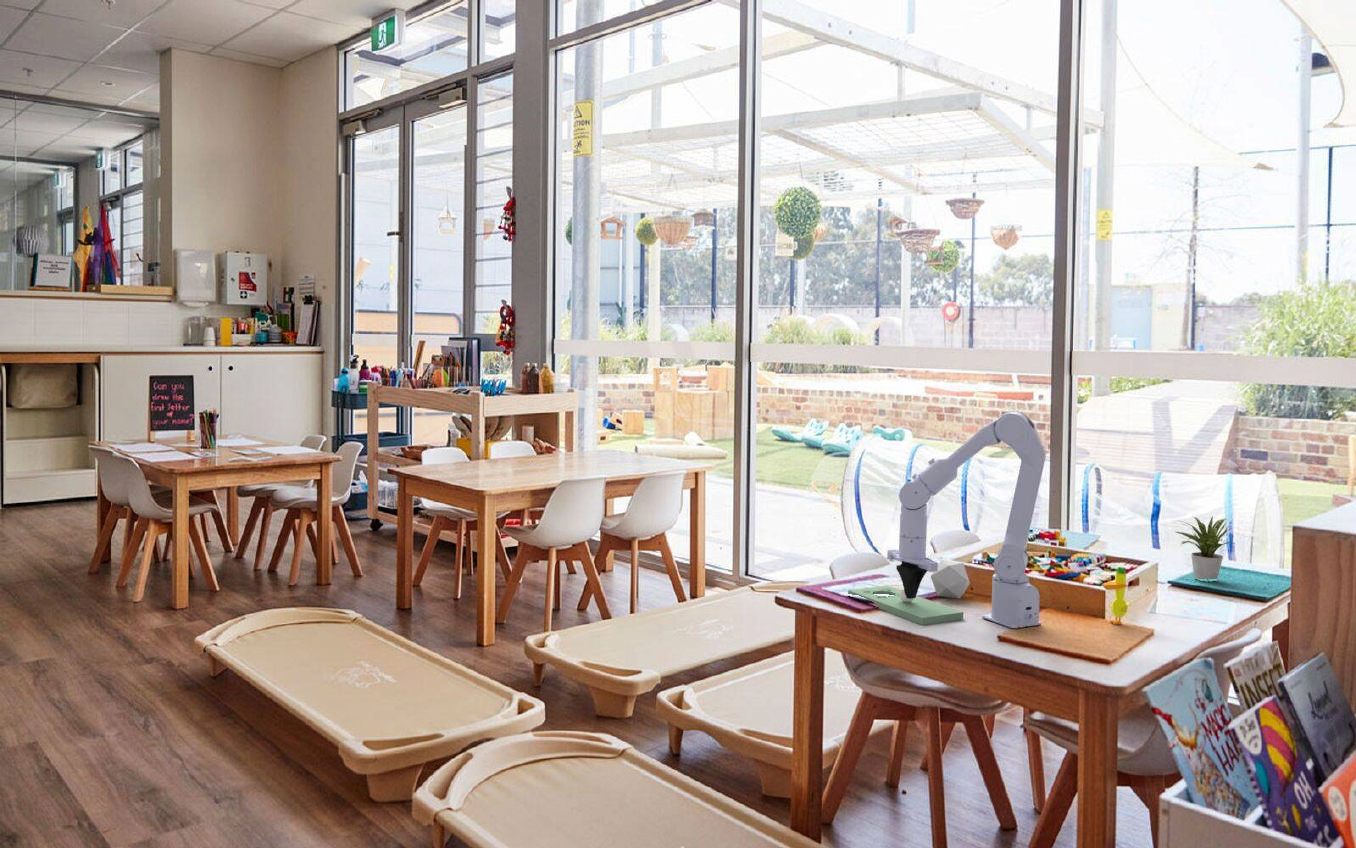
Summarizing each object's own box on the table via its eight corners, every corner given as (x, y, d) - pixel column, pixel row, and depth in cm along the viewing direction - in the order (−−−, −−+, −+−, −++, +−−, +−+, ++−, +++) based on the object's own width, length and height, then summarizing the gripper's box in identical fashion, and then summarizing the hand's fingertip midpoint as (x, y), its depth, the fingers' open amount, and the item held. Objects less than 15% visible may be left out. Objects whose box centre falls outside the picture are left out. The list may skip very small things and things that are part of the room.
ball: (910, 582, 238) (906, 596, 239) (898, 584, 236) (893, 597, 238) (920, 591, 235) (915, 605, 237) (908, 592, 234) (903, 606, 235)
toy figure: (1107, 627, 224) (1109, 570, 223) (1095, 622, 227) (1098, 566, 226) (1134, 624, 226) (1137, 568, 225) (1123, 620, 229) (1125, 564, 228)
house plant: (1191, 570, 279) (1194, 507, 278) (1247, 580, 268) (1250, 514, 267) (1164, 577, 270) (1167, 512, 269) (1221, 588, 259) (1224, 521, 258)
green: (963, 619, 229) (963, 612, 229) (922, 625, 224) (922, 618, 224) (886, 591, 252) (887, 585, 252) (847, 596, 247) (848, 590, 247)
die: (973, 597, 251) (954, 560, 255) (979, 586, 243) (959, 548, 247) (940, 610, 250) (922, 572, 254) (946, 600, 242) (927, 561, 246)
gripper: (877, 531, 239) (875, 592, 240) (920, 543, 226) (917, 607, 227) (902, 529, 242) (900, 589, 243) (946, 541, 229) (943, 604, 230)
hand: (910, 597), depth 235 cm, fingers closed, pressing on ball
